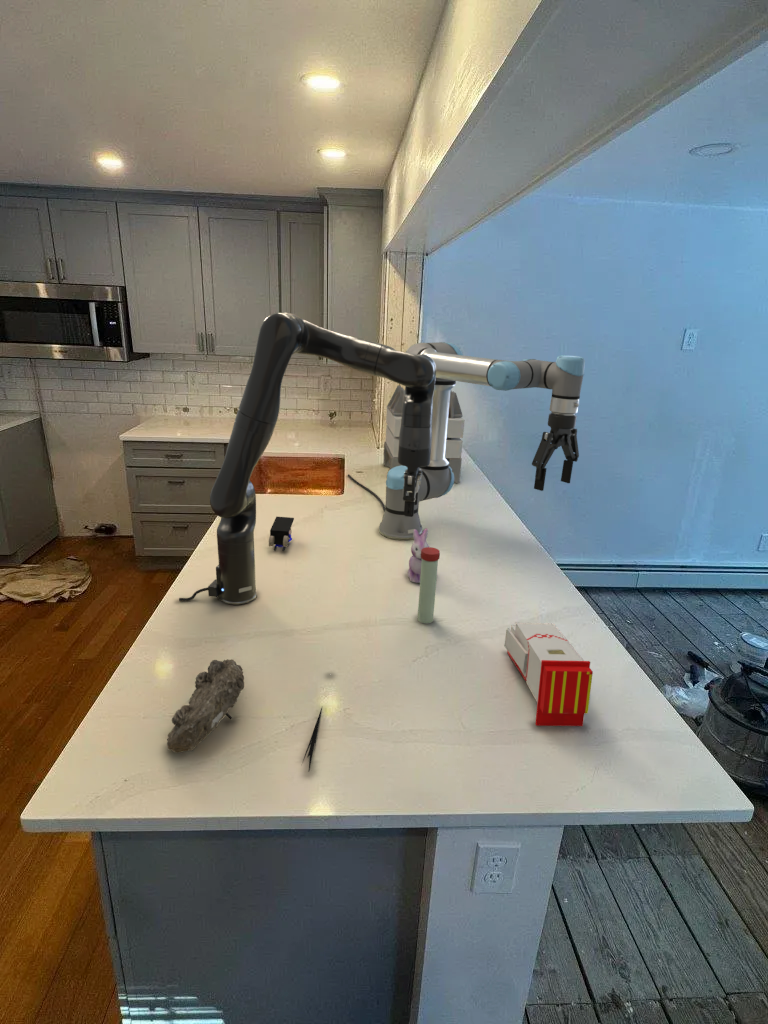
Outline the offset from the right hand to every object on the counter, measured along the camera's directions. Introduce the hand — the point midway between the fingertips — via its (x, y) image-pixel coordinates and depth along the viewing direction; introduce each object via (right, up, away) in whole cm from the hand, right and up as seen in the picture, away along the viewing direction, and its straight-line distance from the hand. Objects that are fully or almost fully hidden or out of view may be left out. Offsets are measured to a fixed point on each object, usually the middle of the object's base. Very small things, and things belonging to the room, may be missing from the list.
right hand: (552, 485), depth 166 cm
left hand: (-43, -7, -29) cm, 52 cm away
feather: (-62, -47, -57) cm, 96 cm away
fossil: (-82, -47, -57) cm, 110 cm away
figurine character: (-83, -18, +21) cm, 87 cm away
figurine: (-38, -27, +3) cm, 47 cm away
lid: (-38, -17, -26) cm, 49 cm away
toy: (-16, -45, -43) cm, 64 cm away
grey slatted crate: (-32, +11, +109) cm, 115 cm away
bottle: (-39, -35, -20) cm, 56 cm away
